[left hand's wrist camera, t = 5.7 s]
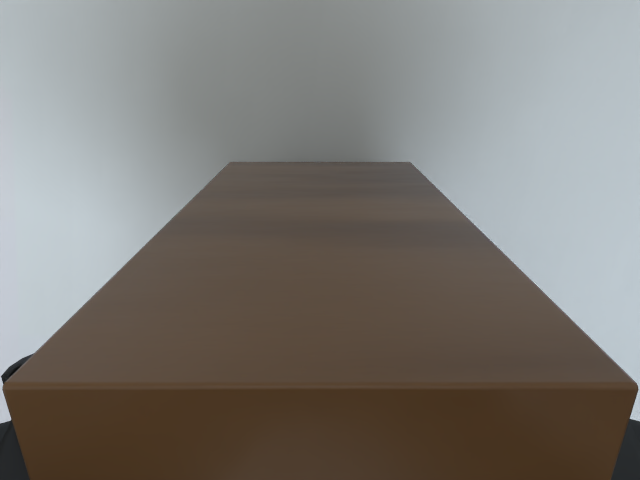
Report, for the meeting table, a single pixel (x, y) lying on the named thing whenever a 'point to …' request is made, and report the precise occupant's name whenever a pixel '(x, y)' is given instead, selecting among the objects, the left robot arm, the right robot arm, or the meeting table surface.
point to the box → (320, 347)
